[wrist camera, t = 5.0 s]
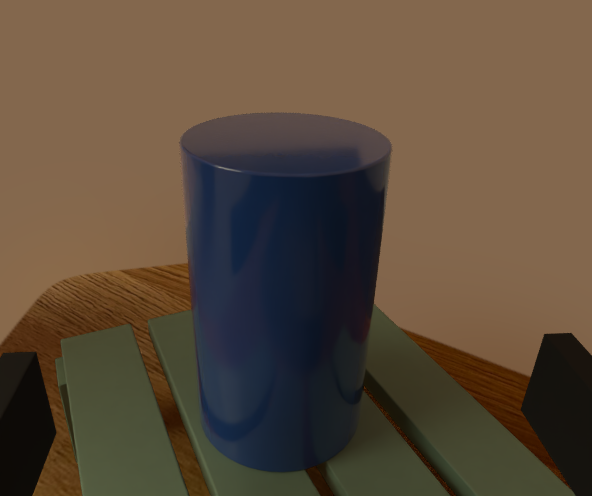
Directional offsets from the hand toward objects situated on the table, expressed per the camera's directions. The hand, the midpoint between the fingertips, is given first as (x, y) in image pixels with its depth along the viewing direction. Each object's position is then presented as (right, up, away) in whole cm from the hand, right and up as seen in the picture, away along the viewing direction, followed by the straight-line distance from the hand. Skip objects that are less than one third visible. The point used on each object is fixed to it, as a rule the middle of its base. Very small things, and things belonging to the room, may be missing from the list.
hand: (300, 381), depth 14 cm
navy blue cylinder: (-1, -3, +7) cm, 8 cm away
